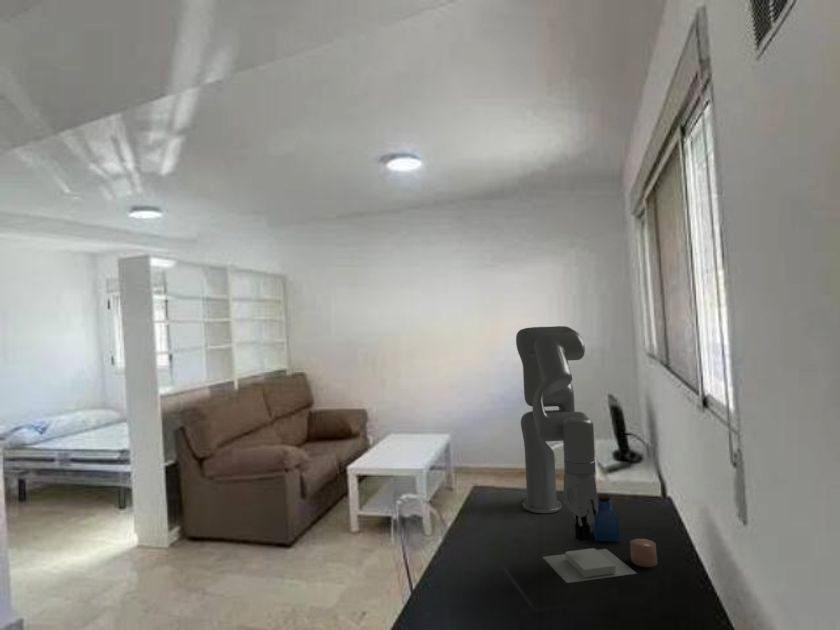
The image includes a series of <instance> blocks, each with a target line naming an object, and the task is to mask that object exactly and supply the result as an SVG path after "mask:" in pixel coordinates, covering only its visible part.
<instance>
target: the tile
mask: <svg viewBox="0 0 840 630" xmlns="http://www.w3.org/2000/svg"><path fill="white" fill-rule="evenodd" d="M597 550H598V549H596V548H595V547H592V548H584V549H583V548H582V549H577V550H569V551H565V553H564V554H565V558H566V560H567V561H568V562H569V563H570V564H571V565H572V566H573V567H574V568H575V569H576V570H577V571H579V572H580V573H581V574H582V575H583V576H584V577H593V576H600V575H607V574H614V573H616V571H615V565H614V564H613V563H611V562H610V561H609V560H608V559H607V558H605V557H604V556H603V555H602V554H601V553H599V552H598V551H597Z"/></svg>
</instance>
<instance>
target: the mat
mask: <svg viewBox="0 0 840 630" xmlns="http://www.w3.org/2000/svg"><path fill="white" fill-rule="evenodd" d="M596 550H597V551H598V552H599V553H601V554H602V555H603V556H604V557H605V558H607V559H608V560H609V561H610V562H611V563H613V564H614V565H615V571H616V573H614V574H607V575H600V576H593V577H584V576H583V575H582V574H581V573H580V572H579V571H577V570H576V569H575V568H574V567H573V566H572V565H571V564H570V563H569V562H568V561H567V560H566V558H565V553H562V554H556V555H555V554H554V555H548V556H547V555H546V556H542V559H544V561H545V562H546V563H547V564H548V565H549V566H550V567H551V568H552V569H553V570H554V571H555V572H556V573H557V574H558V575H559V577H561V579H562V580H563V581H564V582H565V583H566V584H570V583H571V584H572V583H579V582H585V581H592V580H593V581H594V580H600V579H607V578H614V577H621V576H630V575H636V574H638V572H636V571H635V570H634V569H632V568H631V567H630V566H629V565H628V564H626V563H625V562H624V561H622V560H621V559H619V558H618V557H617V556H616V555H614V554H613V553H612V552H611V551H609V550H608V548H600V549H596Z"/></svg>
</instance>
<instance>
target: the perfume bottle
mask: <svg viewBox="0 0 840 630" xmlns="http://www.w3.org/2000/svg"><path fill="white" fill-rule="evenodd" d="M597 499H598V513H597V515H596V516H594V520H595V522H594V523H592V532H593V536H594V539H595V541H596V542H613V543H614V542H617V543H620V522H619V518H618V517H617V514H616V513H615V510H614V509H613V507H612V500H611V495H609V494H606V493H600V494H597Z"/></svg>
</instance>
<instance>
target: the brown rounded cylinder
mask: <svg viewBox="0 0 840 630" xmlns="http://www.w3.org/2000/svg"><path fill="white" fill-rule="evenodd" d="M629 549H630V558H631V562H632V563H633V564H635V565H636V566H638V567H642V568H654V567H656V566H658V555H657V554H658V553H657V543H656V542H654V541H653V540H650V539H647V538H635V539H631V540H630V541H629Z"/></svg>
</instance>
